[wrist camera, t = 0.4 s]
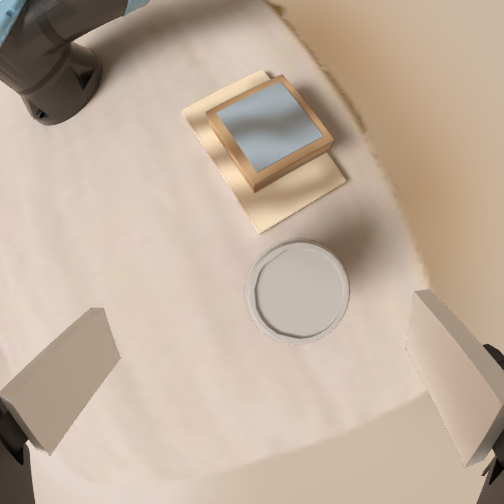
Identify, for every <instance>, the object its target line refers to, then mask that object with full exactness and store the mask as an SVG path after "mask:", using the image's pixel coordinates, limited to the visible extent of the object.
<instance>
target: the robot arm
mask: <svg viewBox="0 0 504 504" xmlns="http://www.w3.org/2000/svg"><path fill="white" fill-rule="evenodd" d="M149 1H150V0H1V1H0V80H1V81H2V82H4V83H5V84H6V85H8V86H9V87H10V88H12V89H13V90H14V91H16V92H17V93H18V94H19V95H20V96H21V98H22V100H23V102H24V104H25V106H26V107H27V109H28V111H29V113H30V115H31V116H32V117H33V118H34V119H35V120H37V121H38V122H40V123H41V124H43V125H55V124H58V123H61V122H63V121H65V120H67V119H69V118H70V117H72V116H73V115H74V114H76V113H77V112H78V111H79V110H80V109H81V108H82V107H83V106H84V105H85V104H86V103H87V102H88V101H89V99H90V98H91V97H92V95H93V94H94V92H95V90H96V89H97V87H98V85H99V82H100V79H101V75H102V65H101V62H100V61H99V59H98V58H97V56H96V55H95V54H94V53H93V52H92V51H90V50H89V49H87V48H85V47H82V46H80V45H78V44H76V43H74V42H72V41H74V40H75V39H77V38H79V37H81V36H82V35H84V34H86V33H88V32H90V31H92V30H94V29H96V28H98V27H100V26H102V25H104V24H106V23H108V22H110V21H112V20H114V19H116V18H119V17H121V16H123V17H124V16H126V15H127V14H128V13H129V12H132V11H134V10H136V9H138V8H140V7H143V6H145V5H146V4H147V3H148V2H149ZM406 350H407V352H408V354H409V356H410V357H411V359H412V361H413V363H414V365H415V367H416V369H417V370H418V372H419V374H420V376H421V378H422V380H423V382H424V384H425V386H426V388H427V389H428V391H429V393H430V395H431V397H432V399H433V401H434V403H435V405H436V407H437V409H438V411H439V414H440V416H441V418H442V420H443V422H444V424H445V426H446V428H447V430H448V433H449V435H450V437H451V439H452V441H453V443H454V446H455V448H456V450H457V453H458V455H459V458H460V460H461V462H462V465H463V467H464V468H465V467H468V466H470V465H473V464H475V463H478V462H480V461H482V460H484V459H485V457H486V456H487V455H488V453H489V452H490V450H491V448H492V449H493V451H494V453H495V457H494V458H493V460H492V461H491V462H490V464H489V465H488V466H487V468H486V469H485V470H484V472H483V474H482V476H485V474H486V473H487V472H488V471H489V472H488V475H487V477H486V480H485V483H484V486H483V489H482V492H481V494H480V496H479V499H478V501H477V504H504V355H503V354H502V353H501V352H500V351H499V350H498V349H496V348H494V347H492V346H491V345H489V344H485V345H482V344H481V343H480V342H479V341H478V340H477V339H476V338H475V337H474V335H473V334H472V333H471V332H470V331H469V330H468V329H467V328H466V327H465V325H464V324H463V323H462V322H461V321H460V320H459V319H458V318H457V317H456V316H455V315H454V314H453V312H452V311H451V310H450V309H448V307H447V306H446V305H445V304H444V303H443V302H442V301H441V300H440V299H439V298H438V297H437V296H436V295H435V294H434V293H433V292H432V291H431V290H430V289H429V290H421V291H414V294H413V303H412V311H411V318H410V325H409V332H408V338H407V344H406ZM119 360H120V355H119V352H118V350H117V347H116V344H115V341H114V339H113V336H112V333H111V330H110V327H109V324H108V321H107V318H106V314H105V311H104V308H90V309H89V310H88V311H87V312H85V313H84V314H83V315H82V316H81V317H80V318H79V319H77V320H76V321H75V322H74V323H73V324H72V325H71V326H69V327H68V328H67V329H66V330H65V331H64V332H63V333H62V334H60V335H59V336H58V337H57V338H56V339H55V340H54V341H53V342H52V343H51V344H49V345H48V346H47V347H46V348H45V349H44V350H43V351H42V352H41V353H40V354H39V355H37V356H36V357H35V358H34V359H33V360H32V361H31V362H30V363H29V364H28V365H27V366H26V367H25V368H24V369H23V370H22V371H21V372H20V373H19V374H18V375H16V376H15V377H14V378H13V379H12V381H10V382H9V383H8V384H7V385H6V386H5V387H4V388H3V389H2V390H1V391H0V504H35V499H34V493H33V485H32V476H31V466H30V453H29V448H28V446H27V445H26V444H25V443H26V442H27V440H28V439H29V440H30V442H31V443H32V444H33V446H34V447H35V448H36V449H37V450H38V451H40V452H43V453H45V454H47V455H49V456H50V455H51V454H52V452H53V451H54V449H55V448H56V447H57V445H58V444H59V442H60V441H61V439H62V438H63V436H64V435H65V434H66V432H67V431H68V429H69V428H70V427H71V425H72V424H73V422H74V421H75V419H76V418H77V417H78V415H79V414H80V413H81V411H82V410H83V408H84V407H85V406H86V404H87V403H88V401H89V400H90V399H91V397H92V396H93V395H94V393H95V392H96V391H97V389H98V388H99V386H100V385H101V384H102V382H103V381H104V380H105V378H106V377H107V376H108V374H109V373H110V372H111V370H112V369H113V368H114V366H115V365H116V364H117V362H118V361H119Z"/></svg>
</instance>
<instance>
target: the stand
mask: <svg viewBox="0 0 504 504" xmlns="http://www.w3.org/2000/svg"><path fill="white" fill-rule="evenodd" d="M181 111H182V113H183V115H184V116H185V118H186V120H187V121H188V123H189V124H190V126H191V127H192V129H193V130H194V132H195V134H196V135H197V137H198V138H199V140H200V141H201V143H202V144H203V146H204V148H205V149H206V151H207V152H208V154H209V155H210V157H211V159H212V160H213V162H214V163H215V165H216V166H217V168H218V170H219V171H220V173H221V174H222V176H223V177H224V179H225V181H226V182H227V184H228V185H229V187H230V189H231V190H232V192H233V193H234V195H235V197H236V198H237V200H238V201H239V203H240V204H241V206H242V208H243V209H244V211H245V212H246V214H247V216H248V217H249V219H250V220H251V222H252V224H253V225H254V227H255V228H256V230H257V232H258V233H259V235H260V234H261V233H263V232H265V231H266V230H268V229H269V228H271V227H273V226H274V225H276V224H278V223H279V222H281V221H283V220H284V219H286V218H288V217H289V216H291V215H292V214H294V213H296V212H297V211H299V210H301V209H302V208H304V207H306V206H307V205H309V204H311V203H312V202H314V201H316V200H317V199H319V198H321V197H322V196H324V195H326V194H327V193H329V192H331V191H332V190H334V189H336V188H337V187H339V186H341V185H342V184H344V183H345V182H346V180H345V178H344V177H343V175H342V174H341V172H340V171H339V169H338V168H337V166H336V165H335V163H334V162H333V160H332V159H331V157H330V156H329V155H328V153H327V151H328V150H329V148H330V146H331V145H332V143H333V142H334V139H333V137H332V136H331V135H330V133H329V132H328V131H327V129H326V128H325V127H324V125H323V124H322V123H321V121H320V120H319V119H318V117H317V116H316V115H315V113H314V112H313V111H312V110H311V108H310V107H309V106H308V105H307V103H306V102H305V101H304V100H303V98H302V97H301V96H300V95H299V93H298V92H297V91H296V90H295V89H294V87H293V86H292V85H291V84H290V83H289V81H288V80H287V79H286V78H285V77H284V76H283V74H282V75H279V76H277V77H275V78H273V79H270V78H269V77H268V75H267V74H266V73H265V72H264V71H263V70H260V71H258V72H256V73H254V74H251V75H249V76H247V77H245V78H243V79H241V80H238V81H236V82H234V83H232V84H230V85H228V86H226V87H224V88H222V89H220V90H218V91H216V92H214V93H212V94H210V95H209V96H207V97H205V98H203V99H201V100H199V101H197V102H196V103H194V104H192V105H190V106H188V107H187V108H185V109H183V110H181Z"/></svg>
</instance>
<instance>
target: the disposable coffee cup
mask: <svg viewBox="0 0 504 504" xmlns="http://www.w3.org/2000/svg"><path fill="white" fill-rule="evenodd" d="M349 296H350V285H349V279H348V276H347V272H346V269H345V267H344V266H343V264H342V262H341V260H340V259H339V258H338V257H337V256H336V255H335V253H334V252H333V251H331V250H330V249H329V248H327V247H326V246H324V245H322V244H320V243H318V242H316V241H313V240H307V239H288V240H284V241H280V242H278V243H276V244H274V245H272V246H270V247H269V248H267V249H266V250H264V251H263V252H262V253H261V254H260V255H259V256H258V257H257V258H256V260H255V261H254V262H253V264H252V266H251V268H250V270H249V272H248V274H247V277H246V282H245V287H244V299H245V304H246V308H247V311H248V314H249V316H250V318H251V320H252V321H253V323H254V324H255V325H256V327H257V328H258V329H259V330H260V331H261V332H262V333H263V334H264V335H266V336H268V337H269V338H271V339H273V340H275V341H277V342H280V343H284V344H288V345H303V344H308V343H312V342H315V341H317V340H319V339H321V338H323V337H325V336H326V335H327V334H329V333H330V332H331V331H332V330H333V329H334V328H335V327H336V326H337V325H338V324H339V322H340V321H341V319H342V318H343V316H344V314H345V312H346V309H347V306H348V302H349Z"/></svg>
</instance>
